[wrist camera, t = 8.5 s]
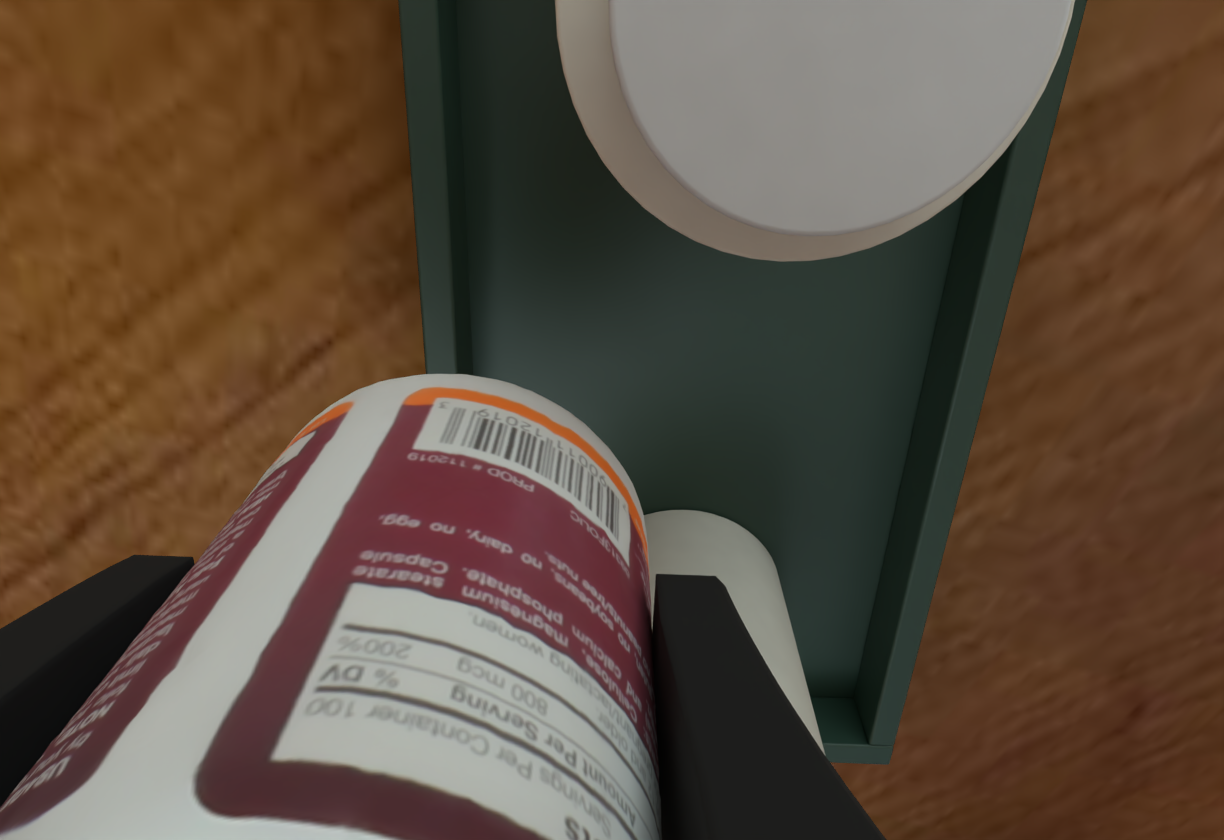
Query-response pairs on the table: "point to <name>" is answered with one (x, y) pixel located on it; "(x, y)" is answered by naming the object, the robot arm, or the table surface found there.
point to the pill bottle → (388, 646)
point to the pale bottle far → (734, 588)
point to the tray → (720, 343)
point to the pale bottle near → (804, 109)
